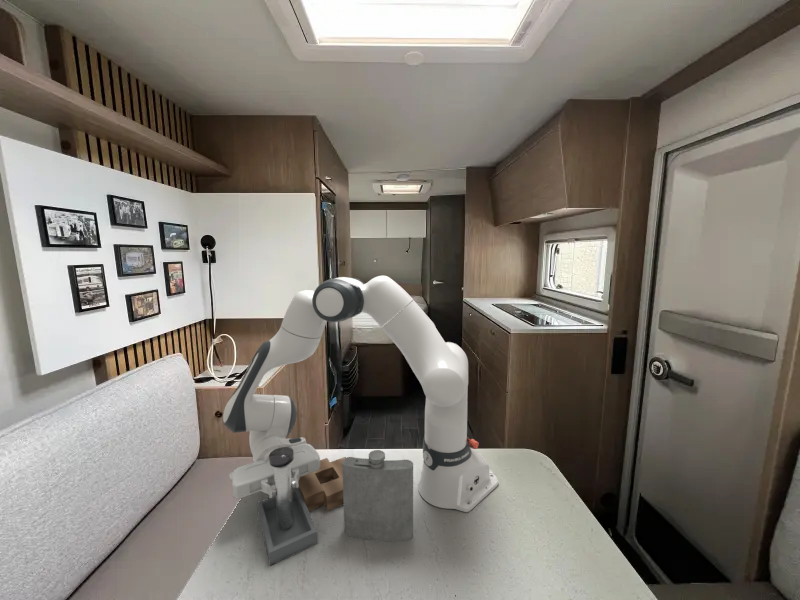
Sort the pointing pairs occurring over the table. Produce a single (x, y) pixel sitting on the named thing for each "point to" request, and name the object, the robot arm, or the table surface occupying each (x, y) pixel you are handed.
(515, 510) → the table surface
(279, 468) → the steel pin
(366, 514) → the hip flask
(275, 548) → the tray
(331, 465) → the block
